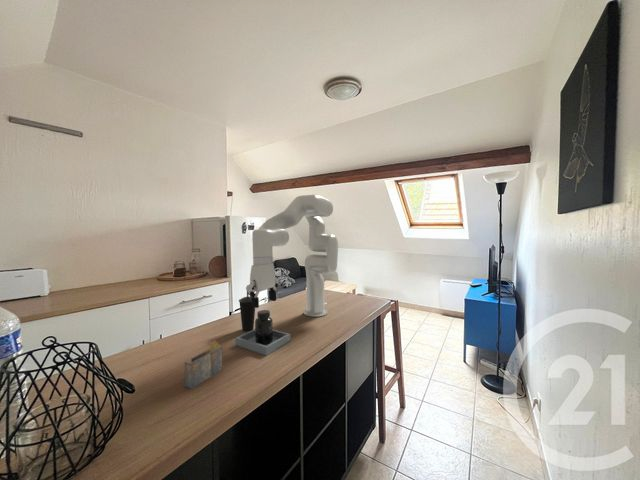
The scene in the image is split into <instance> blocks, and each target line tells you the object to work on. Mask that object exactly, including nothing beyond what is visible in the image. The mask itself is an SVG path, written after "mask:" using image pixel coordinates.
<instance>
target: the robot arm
mask: <svg viewBox="0 0 640 480" xmlns="http://www.w3.org/2000/svg"><path fill="white" fill-rule="evenodd" d="M333 213H334V206H333V202H332V201H331V200H330V199H327V198H326V197H323V196H321V195H318V194H305V195H298V196H296V197H295V198H294V199H293V200H292V201H291V202H290V204H289V205H288V206H287V207H286V208H285V209H284V210H283V211H281V212H279V213H277V214H275V215H274V216H272V217H270V218H269V219H267V220H265V221H264V222H263V223H262V224H261V226H260V227H258V229H254V230H253V231H252V234H251V237H252V239H251V241H252V265H251V268H250V273H249V274H250V275H249V276H250V277H249V284H248V286H247V285H246V287H245V290H246V293H247V292H248V296H249V297H251V301H252V307H255V309H257V308H260V307H259V305H260V304H259V303H260V301H259V298H260V297H258V296H259V294H260V292H263V291H266V290H268V300H269V301H273V302H276V301H277V297H276V296H277V293H276V291H277V290H278V289H277V288H278V286H279V281H280V279H279V278H278V277H276V272H275V266H274V261H273V260H274V255H273V247H284V246H286V245H287V244H288V242H289V240H290V234H289V232H288V230H287V229H290V228H292V227H295V226H297V225H298V224H299V223H300V222H301V221H302V219H303V218H304V217H305V219H306V221H307V222H308V227H309V228H308V248H309V249H308V250H309V251H311V252H314V254H310V255H307V256H306V257H305V259H304V268H305V275H306V308H305V309H304V310H303V314H304V315H305V316H308V317H311V318H312V317H313V318H315V317H317V318H319V317H323V316H326V315H327V314H328V310H327V308H326V306H328V303H327V302H325V279H324V276H323V274H329V275H330V274H334V273H336V271H337V268H338V257H339V255H338V254H339V253H338V252H339V242H338V239H337V236H335V235H334V234H329V233H328V234H327V233H326V225H325V224H326V223H325V221H324V220H323V219H322V217H325V218H327V217H330V216H331V215H333ZM315 252H316V253H325V254H315ZM325 308H326V309H325Z"/></svg>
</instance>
